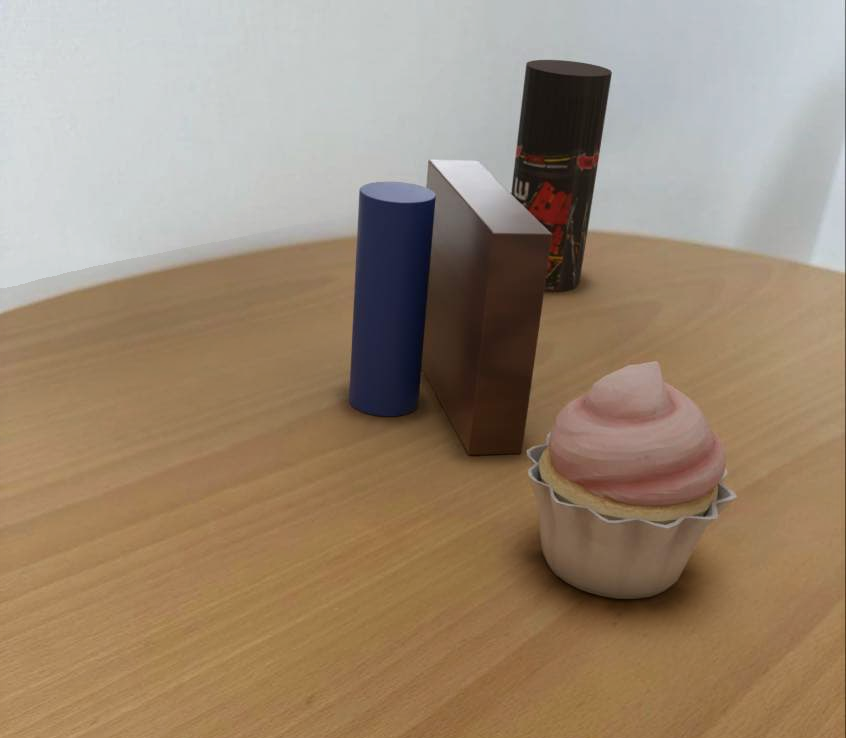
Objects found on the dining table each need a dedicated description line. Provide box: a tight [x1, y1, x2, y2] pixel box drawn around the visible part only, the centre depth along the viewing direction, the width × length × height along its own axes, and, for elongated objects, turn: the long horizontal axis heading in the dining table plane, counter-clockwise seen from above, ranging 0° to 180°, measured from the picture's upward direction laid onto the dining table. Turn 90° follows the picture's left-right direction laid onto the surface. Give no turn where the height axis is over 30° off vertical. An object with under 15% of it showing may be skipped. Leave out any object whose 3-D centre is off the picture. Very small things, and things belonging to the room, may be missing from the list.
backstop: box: [421, 159, 552, 456], centre depth 64 cm, size 3×14×12 cm, turn 13°
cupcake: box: [526, 360, 738, 600], centre depth 51 cm, size 9×9×10 cm
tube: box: [348, 181, 436, 417], centre depth 63 cm, size 11×4×12 cm
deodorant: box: [510, 59, 613, 293], centre depth 83 cm, size 6×6×15 cm
